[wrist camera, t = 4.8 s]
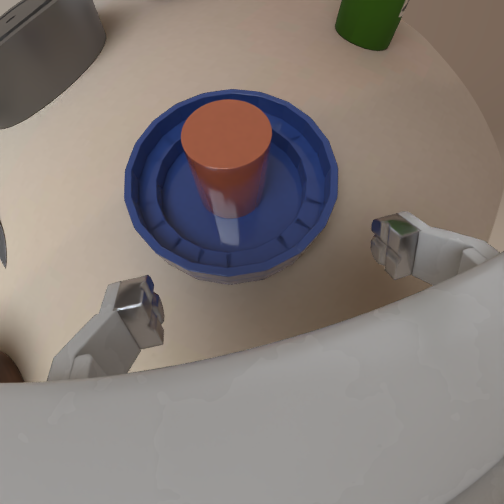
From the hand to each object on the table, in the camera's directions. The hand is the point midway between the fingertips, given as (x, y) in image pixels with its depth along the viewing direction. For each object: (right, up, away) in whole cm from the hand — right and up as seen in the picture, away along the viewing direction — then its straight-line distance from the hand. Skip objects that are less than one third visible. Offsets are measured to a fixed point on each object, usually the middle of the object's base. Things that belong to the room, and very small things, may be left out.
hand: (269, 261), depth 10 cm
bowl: (-2, +6, +15) cm, 16 cm away
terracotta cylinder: (-2, +6, +14) cm, 16 cm away
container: (-36, +31, +21) cm, 52 cm away
